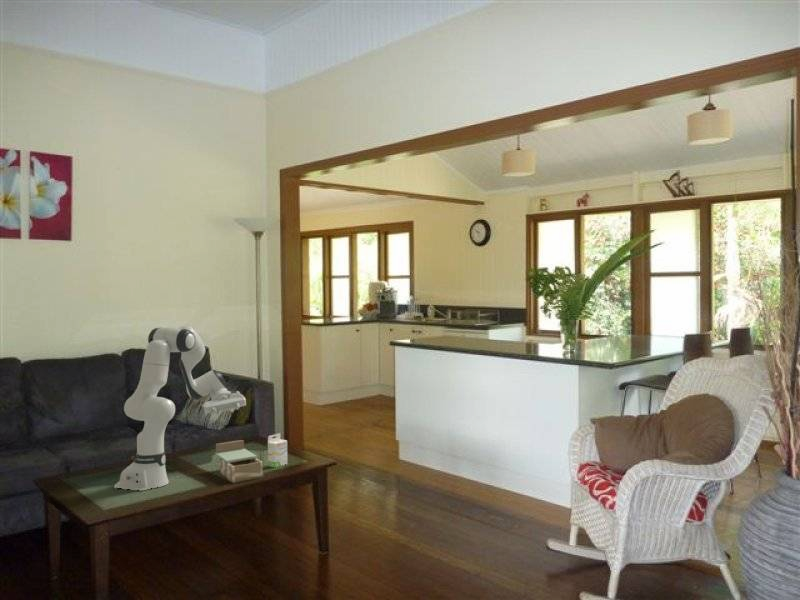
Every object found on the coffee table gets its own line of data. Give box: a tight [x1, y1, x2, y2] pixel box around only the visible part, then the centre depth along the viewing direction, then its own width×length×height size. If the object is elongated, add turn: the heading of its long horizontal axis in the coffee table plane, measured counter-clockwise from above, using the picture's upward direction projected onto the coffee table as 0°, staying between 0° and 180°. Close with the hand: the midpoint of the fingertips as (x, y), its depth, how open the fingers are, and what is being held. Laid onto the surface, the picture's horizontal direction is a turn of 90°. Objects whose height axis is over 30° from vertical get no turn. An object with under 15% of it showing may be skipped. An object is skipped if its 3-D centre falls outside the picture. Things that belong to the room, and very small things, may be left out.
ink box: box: [267, 432, 288, 469], centre depth 315 cm, size 9×5×15 cm, turn 143°
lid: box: [214, 439, 258, 463], centre depth 305 cm, size 18×14×5 cm
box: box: [219, 457, 264, 484], centre depth 300 cm, size 18×14×7 cm
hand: (227, 410), depth 315 cm, fingers open, 8 cm apart
